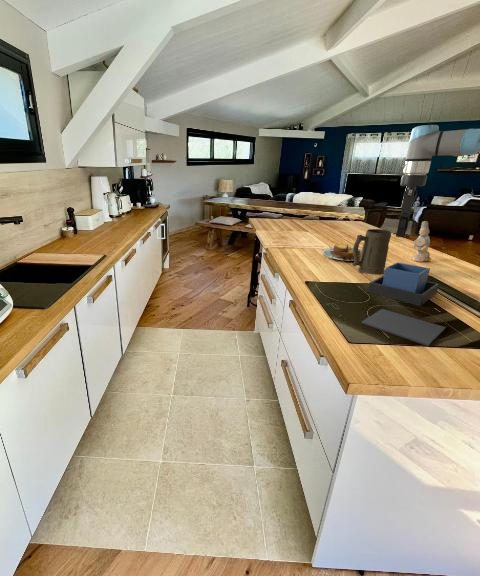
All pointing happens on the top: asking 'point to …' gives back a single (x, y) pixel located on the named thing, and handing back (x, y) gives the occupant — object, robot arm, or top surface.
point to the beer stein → (372, 251)
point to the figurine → (422, 244)
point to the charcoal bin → (403, 292)
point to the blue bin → (406, 277)
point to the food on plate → (342, 252)
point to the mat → (405, 326)
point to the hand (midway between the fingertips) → (401, 233)
